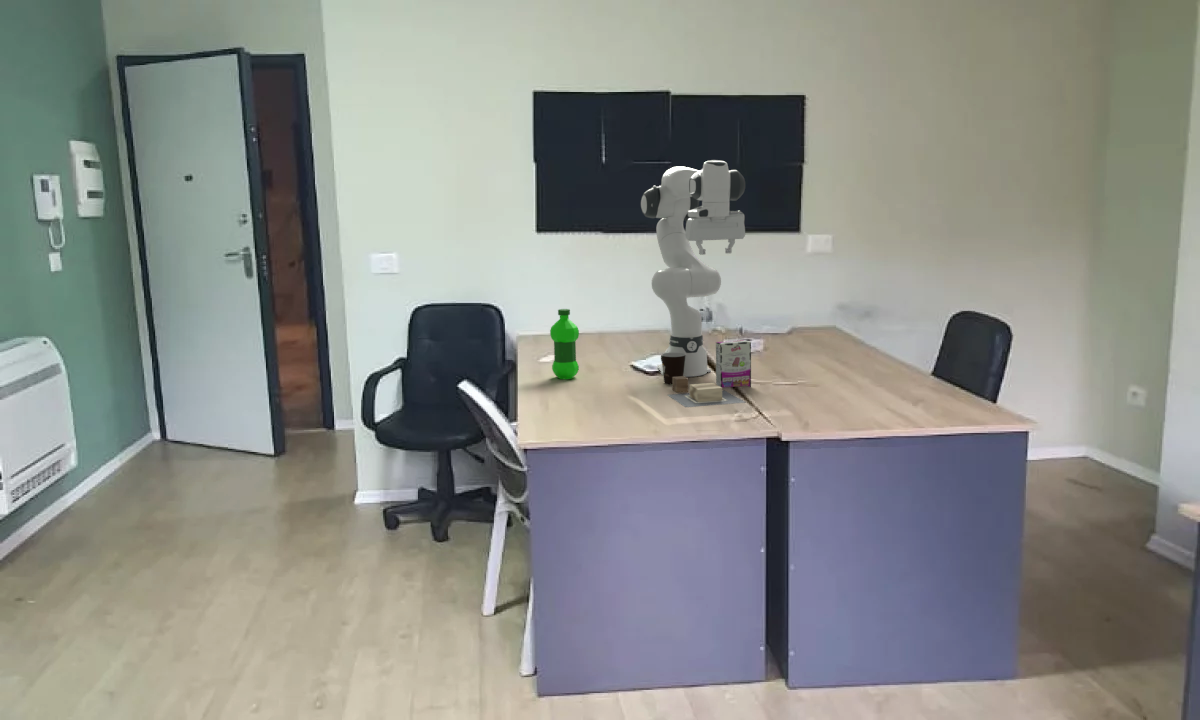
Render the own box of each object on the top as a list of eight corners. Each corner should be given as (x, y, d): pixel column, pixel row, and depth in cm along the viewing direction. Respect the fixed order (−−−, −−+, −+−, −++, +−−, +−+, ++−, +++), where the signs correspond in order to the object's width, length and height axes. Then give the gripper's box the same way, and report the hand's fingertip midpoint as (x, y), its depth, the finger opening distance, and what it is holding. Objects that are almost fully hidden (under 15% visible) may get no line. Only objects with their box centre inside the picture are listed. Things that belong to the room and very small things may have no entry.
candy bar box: (745, 386, 321) (745, 339, 318) (751, 389, 316) (752, 341, 313) (714, 388, 318) (715, 341, 315) (720, 392, 314) (720, 343, 311)
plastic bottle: (546, 379, 338) (544, 310, 333) (560, 374, 347) (559, 307, 343) (570, 381, 334) (568, 312, 329) (584, 376, 343) (583, 308, 338)
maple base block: (689, 396, 301) (689, 384, 300) (712, 394, 303) (713, 382, 302) (698, 402, 293) (698, 389, 292) (722, 400, 295) (722, 387, 294)
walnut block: (672, 394, 311) (672, 376, 310) (683, 393, 312) (683, 376, 311) (676, 397, 307) (676, 379, 306) (688, 396, 308) (688, 378, 307)
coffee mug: (684, 385, 324) (684, 357, 323) (659, 384, 326) (659, 356, 324) (687, 378, 336) (687, 351, 334) (664, 377, 337) (663, 350, 335)
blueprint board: (666, 399, 304) (666, 394, 304) (724, 394, 309) (724, 390, 309) (685, 411, 287) (685, 406, 287) (746, 407, 292) (746, 402, 292)
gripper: (739, 210, 310) (739, 252, 313) (683, 211, 303) (683, 254, 306) (748, 210, 304) (748, 253, 307) (691, 212, 297) (691, 255, 300)
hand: (715, 253), depth 306 cm, fingers open, 8 cm apart
